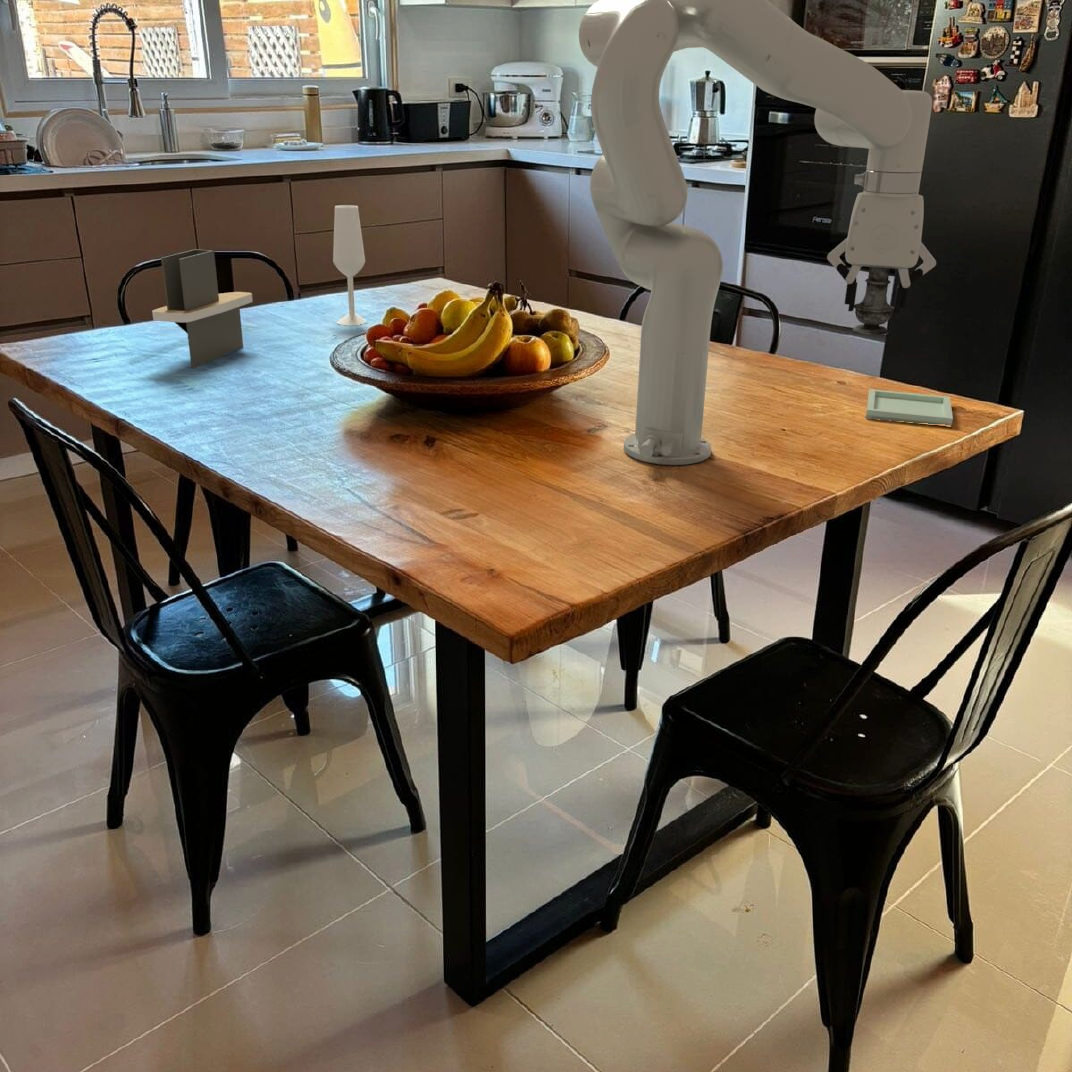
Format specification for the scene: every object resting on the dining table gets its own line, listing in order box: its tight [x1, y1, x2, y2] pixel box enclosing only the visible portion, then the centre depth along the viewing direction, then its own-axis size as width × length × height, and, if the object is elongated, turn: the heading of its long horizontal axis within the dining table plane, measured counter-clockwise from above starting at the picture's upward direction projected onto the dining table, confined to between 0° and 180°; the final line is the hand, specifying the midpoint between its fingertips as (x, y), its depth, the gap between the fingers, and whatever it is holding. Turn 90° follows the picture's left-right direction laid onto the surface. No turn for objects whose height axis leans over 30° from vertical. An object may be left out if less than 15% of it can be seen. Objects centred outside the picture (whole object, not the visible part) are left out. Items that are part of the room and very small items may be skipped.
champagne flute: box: [332, 204, 367, 326], centre depth 222 cm, size 7×7×24 cm
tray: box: [865, 388, 954, 425], centre depth 173 cm, size 13×13×2 cm
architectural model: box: [151, 248, 254, 369], centre depth 194 cm, size 38×25×20 cm, turn 163°
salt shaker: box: [852, 267, 894, 336], centre depth 155 cm, size 6×6×12 cm
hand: (873, 310), depth 156 cm, fingers closed on salt shaker, 5 cm apart
